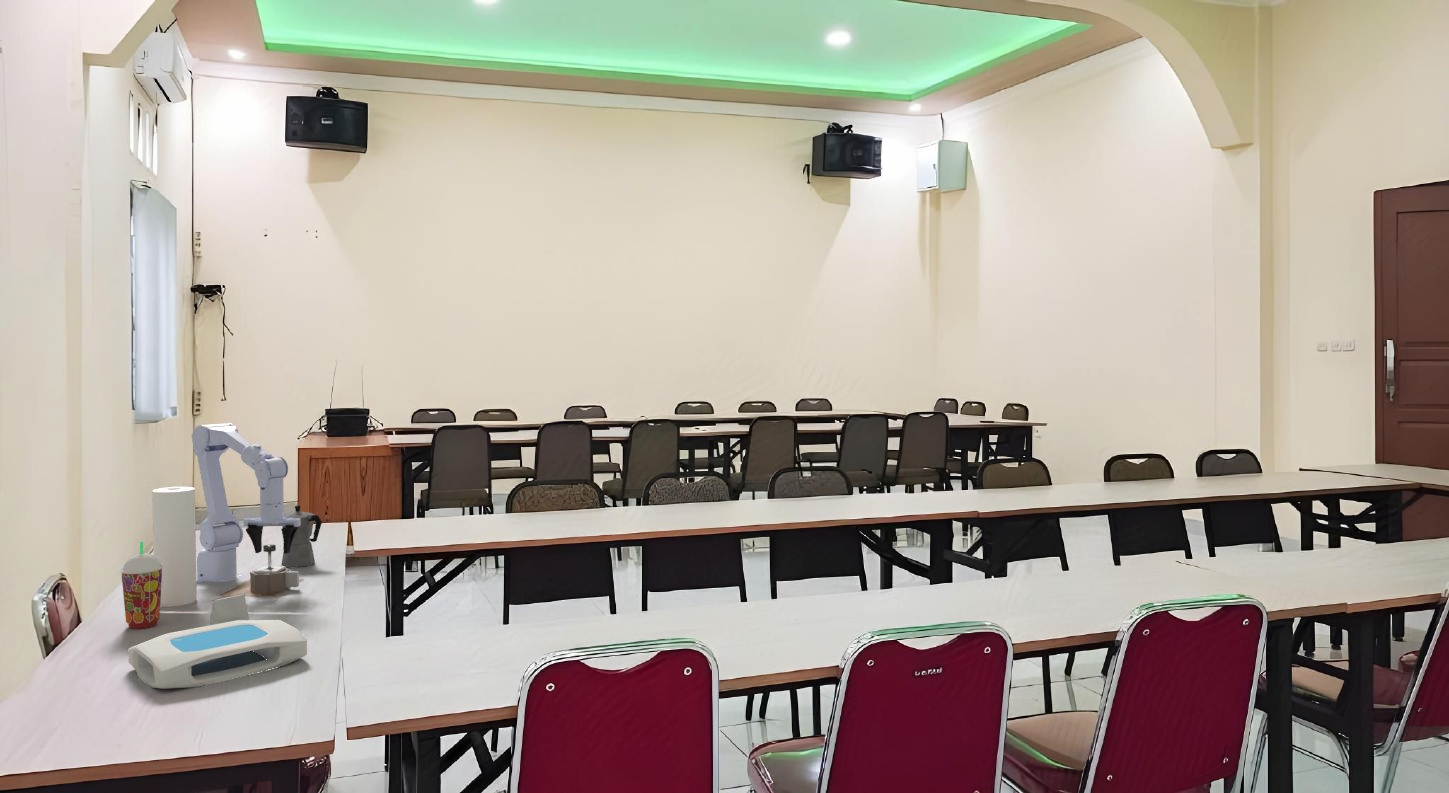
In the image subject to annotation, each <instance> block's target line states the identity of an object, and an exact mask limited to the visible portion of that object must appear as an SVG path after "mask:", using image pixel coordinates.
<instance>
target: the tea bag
mask: <svg viewBox="0 0 1449 793" xmlns="http://www.w3.org/2000/svg"><path fill="white" fill-rule="evenodd" d="M249 617H250V616H249V609H248V605H247V600H246V596H245V595H244V594H243V595H238V596H227V597H223V598H218V599H213V600H212V607H211V612H210V616H209V625H215V624H220V623H225V622H231V621H237V620H250V619H249Z"/></svg>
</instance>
